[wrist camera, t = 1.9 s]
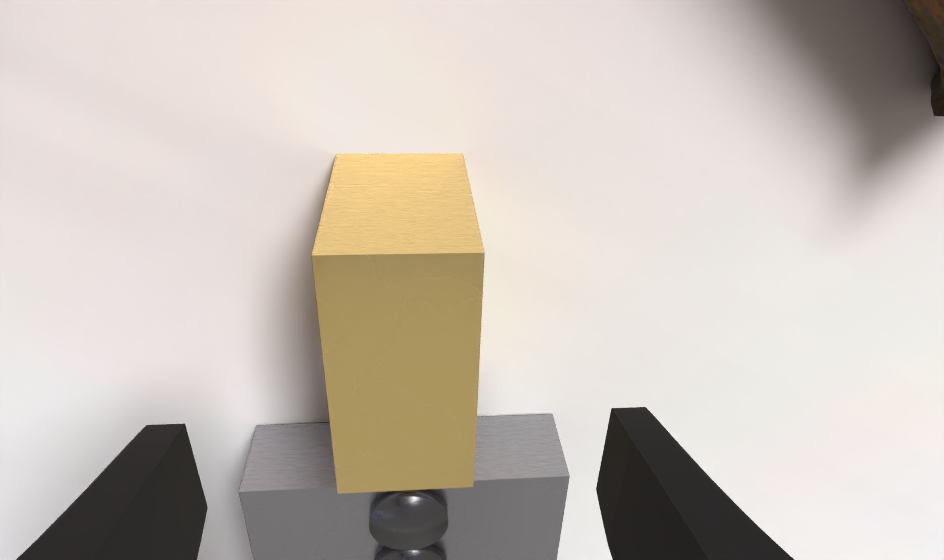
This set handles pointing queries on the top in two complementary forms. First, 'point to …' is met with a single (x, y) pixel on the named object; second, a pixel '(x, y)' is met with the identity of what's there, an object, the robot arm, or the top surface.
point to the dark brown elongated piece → (932, 42)
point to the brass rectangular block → (400, 320)
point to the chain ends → (407, 500)
